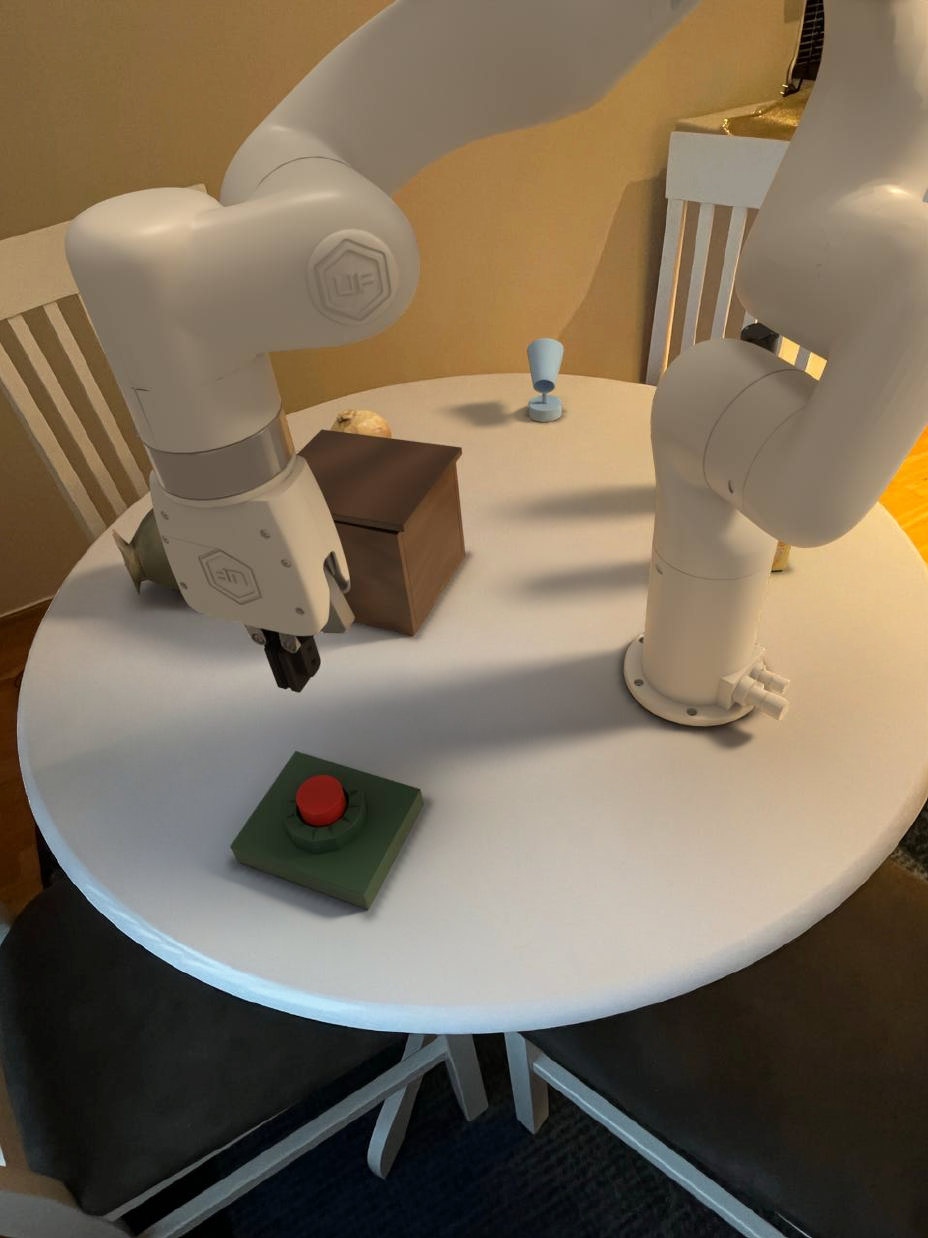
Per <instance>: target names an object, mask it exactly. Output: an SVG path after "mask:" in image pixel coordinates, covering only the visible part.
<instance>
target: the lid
mask: <svg viewBox="0 0 928 1238" xmlns="http://www.w3.org/2000/svg"><path fill="white" fill-rule="evenodd" d="M330 430H331V429H330ZM330 430H329V429H320V430H319V431H318V432H317V433H316V434H315V435H314V436H313V437H312V438H311V440H309V441H308V442H307V443H306V445H304V446H303V448H301V450H299V451H298V453H296V454H297V455H299V456H302V457H304V458H305V460H306V462H307V464H308V466H309V468H310V469H311V471H312V473H313V475H314V477H315V479H316V481H317V483H318V486H319V488H320V490H321V492H322V494H323V496H324V499H325V501H326V503H327V506H328V508H329V511H330V513H331V516H332V519H333V520H336V521H342V522H348V523H354V524H360V525H365V526H371V527H377V528H383V529H389V530H394V531H400V532H405V531H406V529H407V528H408V527H409V525H410V524H411V523H412V521H413V520H414V518H415V517H416V516H417V514H418V513H419V512H420V510H421V509H422V508H423V506H424V505H425V504H426V502H427V501H428V500H429V498H430V497H431V496H432V494H433V493H434V492H435V490H436V489H437V487H438V486H439V485H440V483H441V482H442V481H443V479H444V478H445V477H446V475H447V474H448V473H449V471H450V470H451V469H452V467H453V466H454V465H455V463H456V464H457V462H458V461H459V459H460V458H461V457H462V455H463V448H462V447H460V446H453V445H447V444H439V443H438V444H437V443H431V442H430V443H429V442H422V441H414V440H408V439H399V438H393V437H391V438H384V437H377V436H369V435H361V434H353V433H346V432H338V431H330Z"/></svg>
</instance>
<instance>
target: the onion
mask: <svg viewBox="0 0 928 1238" xmlns="http://www.w3.org/2000/svg"><path fill="white" fill-rule="evenodd" d="M330 431H338V432H346V433H353V434H361V435H369V436H377V437H384V438H393V437H392V430H391V427H390V426H389V423H388V422H387V420H385V418H383V417H382V416H381V415H379V414H377V413H375V412H373V411H371V410H367V409H351V408H347V409H345V410H343V411H341V412H338V414H337V417H336V420H335V421H334V422H333V423H332V425H331V428H330Z"/></svg>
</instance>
